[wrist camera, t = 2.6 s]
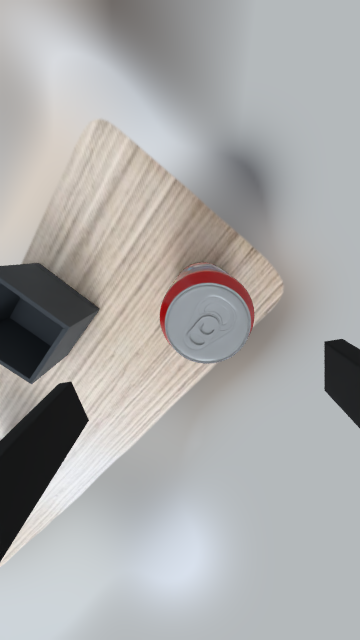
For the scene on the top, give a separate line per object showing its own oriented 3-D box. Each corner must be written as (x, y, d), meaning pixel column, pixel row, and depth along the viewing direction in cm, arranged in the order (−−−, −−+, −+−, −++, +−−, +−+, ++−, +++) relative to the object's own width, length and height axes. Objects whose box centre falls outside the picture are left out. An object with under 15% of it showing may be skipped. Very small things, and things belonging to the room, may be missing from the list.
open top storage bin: (38, 262, 30) (-15, 267, 22) (99, 308, 31) (69, 327, 24) (10, 316, 33) (-45, 335, 25) (67, 355, 35) (31, 384, 27)
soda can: (164, 294, 30) (135, 334, 16) (197, 249, 28) (199, 249, 13) (205, 325, 31) (213, 388, 17) (240, 284, 29) (284, 318, 15)
